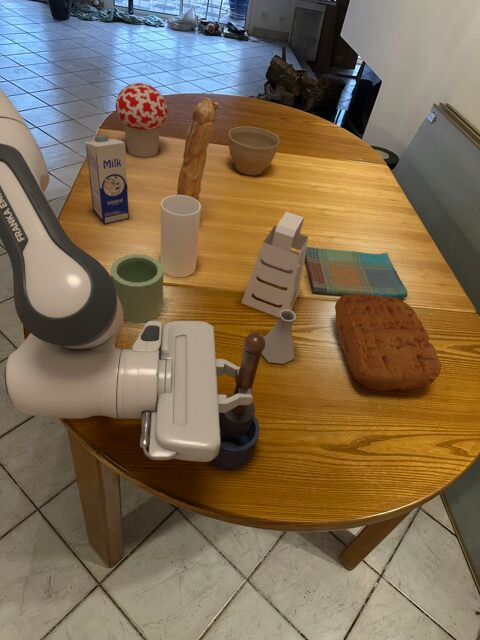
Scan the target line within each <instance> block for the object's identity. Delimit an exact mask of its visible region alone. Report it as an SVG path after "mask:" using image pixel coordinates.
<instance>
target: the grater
mask: <svg viewBox="0 0 480 640" xmlns="http://www.w3.org/2000/svg"><path fill="white" fill-rule="evenodd" d="M304 220H305V217H304V216H301V215H298V214H294V213H292V212H290V211H285V213H284V214H283V215H282V217H281V219H280V220H279V222H278V223H277V224H276V225H274V226H273V227H272V229H271V230H270V231H269V233H268V234H267V236H265V238H264V240H263V242H262V244H261V247H260V249H259V252H258V255H257V257H256V259H255V260H256V261H255V264H254V265H253V269H252V272H251V275H250V277H249V280H248V283H247V284H246V288H245V291H244V294H243V297H242V299H241V302H240V304H241V305H245V306H247V307H250V308H253V309H255V310H258V311H260V312H263V313H266V314H268V315H270V316H274V317H276V318H279V311H281V310H284V309H288V310H292V308H293V306H294V304H295V303H296V300H297V298H298V296H299V294H300V291H301V290H300V289H301V283H302V278H303V273H304V265H305V254H306V248H307V247H308V241H309V236H308V235H305V234H302V233H301V231H302V227H303V224H304ZM291 248H292V249H294V250H292V249H291ZM295 250H297V251H295ZM258 278H259V280H262V281H265V282H267V284H266V283H263V282H262V281H259V280H258ZM268 283H270V284H273V285H275V286H277V287H275V286H272V285H269V284H268ZM278 287H281V288H286V289H281V288H278ZM253 296H254V297H255V298H254V297H253ZM256 298H258V299H261V300H263V301H265V302H263V301H261V300H258V299H256ZM266 302H267V303H266ZM268 303H271V304H273V305H271V304H268ZM274 305H276V306H280V305H281V307H276V306H274Z"/></svg>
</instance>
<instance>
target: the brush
mask: <svg viewBox="0 0 480 640" xmlns="http://www.w3.org/2000/svg"><path fill="white" fill-rule="evenodd" d="M264 337H265V336H263V335H262V334H260V333H257V332H251V333H249V334H247V335H246V337H244V340H243V352H242V356H241V361H240V365H239V366H240V369H239V373H238V377H237V382H236V381H235V385H234V392H233V394H230V395H228V396H226V397H227V398H229V397H231V396H233V395H236V394H238V390H239V388H245V389H246V388H250V389H251V390H252V389H253V386H254V382H255V378H256V375H257V371H258V367H259V363H260V360H261V356H262V354H261V353H262V351H263V350H264V348H265V339H264ZM252 391H253V390H252ZM255 413H256V407H255V403H254V402H253V401H252V404H250V405H238V406H236V407H235V408H233V409H231V410H229V411H228V412H226V413H220V417H219V425H220V428H221V430H222V431H223V432H224V433H225V434H227V435H229V436H232V437H240V436H243V435H245V434H246V433H247V432H248V431H249V429H250V426H251V423H252V420H253V416H255Z"/></svg>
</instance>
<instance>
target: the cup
mask: <svg viewBox="0 0 480 640" xmlns="http://www.w3.org/2000/svg"><path fill="white" fill-rule="evenodd" d="M201 210H202V206H201V202H200V203H199V202H198V201H197V200H196V199H194V198H192V197H189V196H185V195H177V194H172V195H168V196H166V197H163V199H162V200H161V202H160V256H159V257H160V258H159V259H160V261H159V262H160V263H161V265H162V267H163V271H164V274H166V275H168V276H171V277H174V278H185V277H188V276H190V275H192V274H193V273H194V272H195V271H196V269H197V260H198V258H197V257H198V248H199V247H198V246H199V236H200V235H199V234H200V222H201V221H200V220H201Z"/></svg>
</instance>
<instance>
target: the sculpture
mask: <svg viewBox="0 0 480 640" xmlns="http://www.w3.org/2000/svg"><path fill="white" fill-rule="evenodd" d="M201 100H202V101H200V102H199V103H197V104H196V105H195V108H194V109H193V112H192V119H191V122H190V124H189V126H188V128H187V133H186V136H185V144H184V151H183V157H182V158H183V160H182V163H181V166H180V170H179V174H178V180H177V190H176V195H185V196H189V197H192V198H194V199H196V200H197V201H198V202H199V203H200V204H201V202H200V201H201V199H200V194H201V190H202V181H203V180H202V179H203V176H204V170H205V166H206V160H207V154H208V152H207V149H208V147H209V145H210V142H211V139H212V136H213V134H214V129H215V121H216V118H217V117H218V116H217V110H218V108H219V107H220V104H219V102H217V101H213V100H212V99H211V98H210V97H202V98H201Z"/></svg>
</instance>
